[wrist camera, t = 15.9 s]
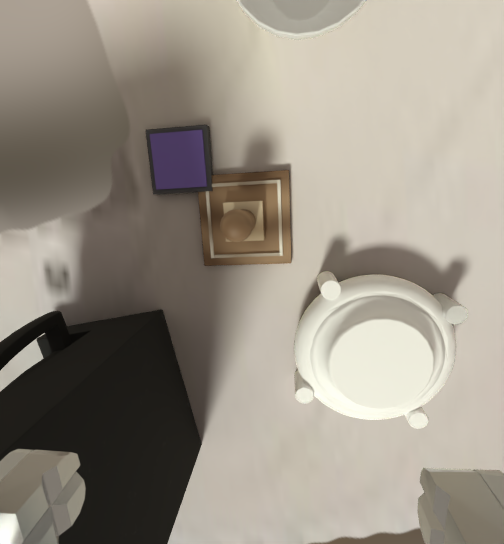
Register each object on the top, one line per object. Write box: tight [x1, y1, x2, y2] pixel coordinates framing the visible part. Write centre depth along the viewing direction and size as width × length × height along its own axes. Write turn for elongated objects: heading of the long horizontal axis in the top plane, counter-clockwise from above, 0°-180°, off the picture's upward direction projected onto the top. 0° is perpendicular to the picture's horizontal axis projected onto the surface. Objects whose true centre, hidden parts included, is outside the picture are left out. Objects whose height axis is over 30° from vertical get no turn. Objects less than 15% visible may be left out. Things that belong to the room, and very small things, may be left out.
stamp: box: [220, 201, 265, 242], centre depth 37 cm, size 5×5×9 cm
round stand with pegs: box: [294, 271, 468, 429], centre depth 42 cm, size 24×24×7 cm
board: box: [198, 170, 291, 266], centre depth 42 cm, size 12×12×1 cm
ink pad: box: [146, 125, 213, 194], centre depth 41 cm, size 8×8×2 cm
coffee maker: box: [0, 310, 202, 544], centre depth 34 cm, size 28×20×35 cm
